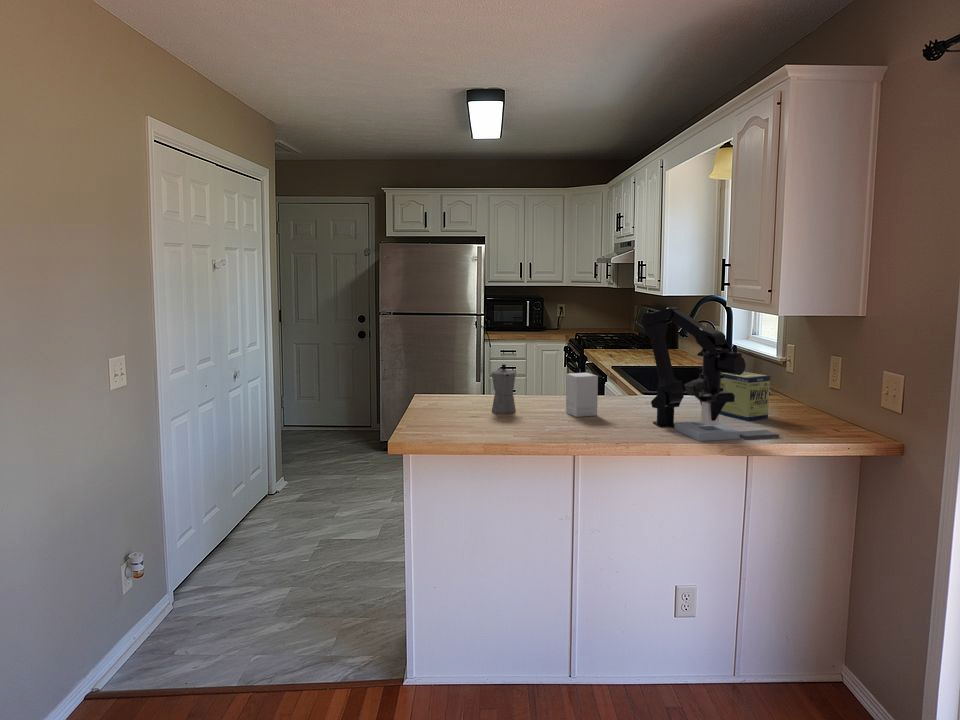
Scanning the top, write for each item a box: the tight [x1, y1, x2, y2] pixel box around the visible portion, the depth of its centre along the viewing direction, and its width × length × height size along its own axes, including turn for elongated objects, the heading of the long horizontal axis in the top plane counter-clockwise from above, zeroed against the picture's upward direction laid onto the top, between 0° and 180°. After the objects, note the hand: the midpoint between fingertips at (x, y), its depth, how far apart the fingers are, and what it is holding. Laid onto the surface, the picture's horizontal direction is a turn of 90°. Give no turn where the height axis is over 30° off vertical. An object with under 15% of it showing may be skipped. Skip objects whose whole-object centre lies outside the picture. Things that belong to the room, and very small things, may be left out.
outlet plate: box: [674, 420, 741, 442], centre depth 224 cm, size 16×14×2 cm
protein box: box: [719, 371, 771, 422], centre depth 251 cm, size 10×16×16 cm
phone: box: [739, 429, 780, 440], centre depth 221 cm, size 6×12×1 cm, turn 101°
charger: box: [700, 401, 720, 426], centre depth 221 cm, size 4×4×7 cm
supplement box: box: [565, 372, 599, 418], centre depth 254 cm, size 9×9×15 cm
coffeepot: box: [491, 364, 517, 415], centre depth 261 cm, size 15×9×18 cm, turn 11°
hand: (709, 419), depth 221 cm, fingers closed on charger, 4 cm apart
